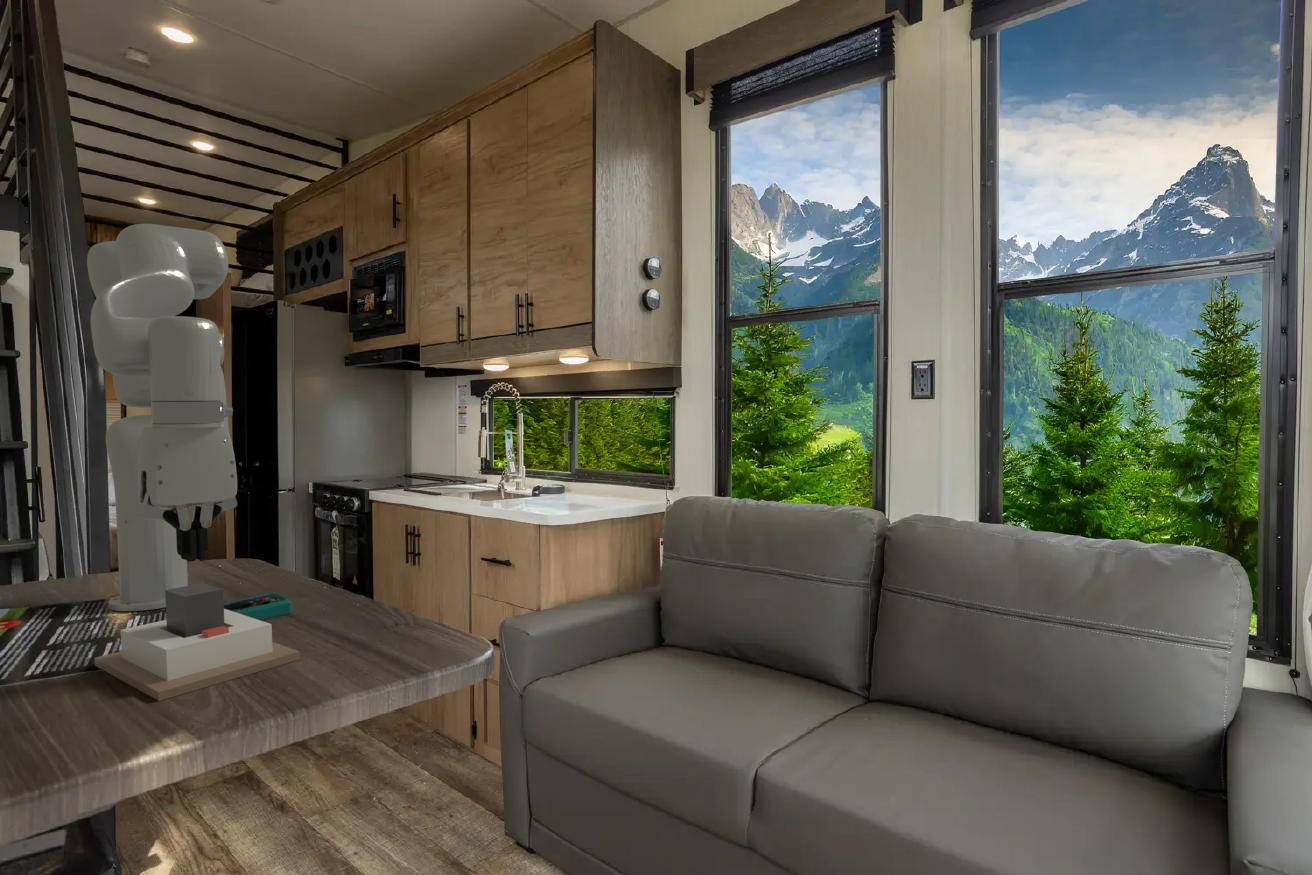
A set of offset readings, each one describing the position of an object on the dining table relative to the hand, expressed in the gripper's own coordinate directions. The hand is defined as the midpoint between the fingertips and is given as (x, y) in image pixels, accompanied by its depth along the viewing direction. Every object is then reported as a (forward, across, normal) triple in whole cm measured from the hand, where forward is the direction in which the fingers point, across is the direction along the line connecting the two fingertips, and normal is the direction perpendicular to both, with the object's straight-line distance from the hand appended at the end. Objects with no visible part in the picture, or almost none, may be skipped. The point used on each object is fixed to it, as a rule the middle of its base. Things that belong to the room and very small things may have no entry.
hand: (192, 558), depth 93 cm
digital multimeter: (+14, -12, -15) cm, 24 cm away
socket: (+13, 0, +1) cm, 13 cm away
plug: (+12, 0, +1) cm, 12 cm away
